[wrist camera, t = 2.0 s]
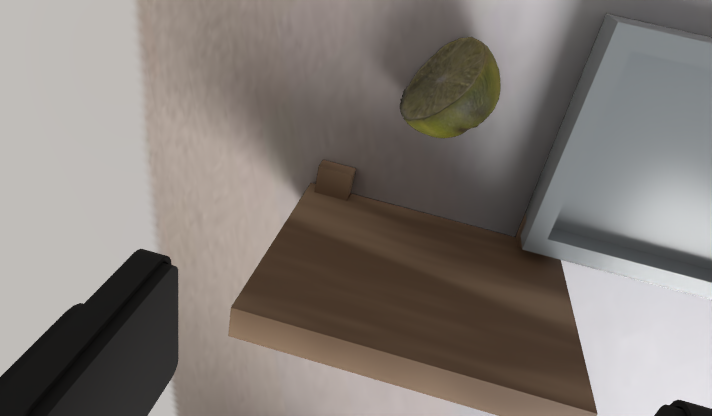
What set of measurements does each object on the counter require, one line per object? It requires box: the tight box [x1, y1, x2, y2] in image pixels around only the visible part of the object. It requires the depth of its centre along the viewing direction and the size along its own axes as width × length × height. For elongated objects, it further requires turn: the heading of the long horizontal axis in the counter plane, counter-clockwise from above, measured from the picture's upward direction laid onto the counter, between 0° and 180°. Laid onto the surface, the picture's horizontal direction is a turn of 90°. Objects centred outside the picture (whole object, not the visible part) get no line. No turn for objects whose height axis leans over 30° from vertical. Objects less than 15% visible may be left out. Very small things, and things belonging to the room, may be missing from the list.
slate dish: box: [521, 13, 712, 300], centre depth 26 cm, size 12×12×2 cm
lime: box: [400, 37, 500, 138], centre depth 25 cm, size 4×5×5 cm
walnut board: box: [228, 160, 597, 416], centre depth 27 cm, size 5×15×12 cm, turn 79°
